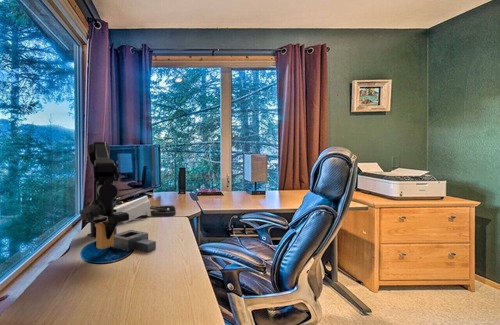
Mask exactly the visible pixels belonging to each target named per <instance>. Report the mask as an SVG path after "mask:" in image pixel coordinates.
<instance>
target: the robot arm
mask: <svg viewBox="0 0 500 325" xmlns="http://www.w3.org/2000/svg"><path fill="white" fill-rule="evenodd" d="M110 148H111V146H110V145H109V144H108V142H106V141H93V142H92V143H91V144H88V145H87V148H86V157H88V161H89V162H90V164H91V165H92V182H93V183H92V184H93V185H92V187H93V188H92V189H93V190H92V196H93V197H92V200H91V202H90V203H89V205H88V206H86V207H84V208H83V209H81V210H80V211H79V214H80V217H81V219H82V221H87V223H88V224H90V233H87V236H90V237H94V238H96V227H95V224H96V223H100V222H102V223H103V224H104V225H105V228H106V237H107V239H110V237H111V235H112V233H113V231H114V229H115V227H117V226H118V224H119V223H122V222H123V221H127V220H129V214H128V213H126V212H117V213H114V212H116V209H114V208H115V204H114V202H117V198H116V197H117V195H118V188H117V186H116V185H114V182H118V181H119V179H120V173H119V168H118V166H117V164H115V161H114V160H113V159H111V158H110V155H111V150H110ZM104 221H105V222H104Z"/></svg>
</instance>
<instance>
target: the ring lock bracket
mask: <svg viewBox="0 0 500 325" xmlns="http://www.w3.org/2000/svg"><path fill="white" fill-rule="evenodd" d="M117 228H118V227H117V226H116V227H115V229H114V245H113V246H111V247H116V248H120V249H125V250H131V249H134V250H136V251H140V252H144V253H149V252H152V251H154V250H156V249H157V248H156V247H157V241H156V240H150V239H149V232H146V231H145V232H144V231H138V230H135V229H129V230H124V231H122V232H118V233H117V231H118V230H117ZM131 251H132V250H131Z"/></svg>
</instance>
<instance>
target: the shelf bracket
mask: <svg viewBox="0 0 500 325" xmlns="http://www.w3.org/2000/svg"><path fill="white" fill-rule="evenodd" d="M151 206H152V205H151V201H150V199H149V196H148V195H144V196H142V197H139V198H136V199H134V200H131V201H128V202H126V203H123V204H120V205H118V206H114V209H116V212H114V213H117V212H126V213H128V214H129V220H127V221H123V222H121V224H127V223H129V222H131V221H133V220H134V219H136V218H139V217H140V216H142V215H144V214H145V215H146V216H147V217H152V216H151V211H152V210H151V209H150V207H151Z"/></svg>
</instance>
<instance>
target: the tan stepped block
mask: <svg viewBox="0 0 500 325" xmlns="http://www.w3.org/2000/svg"><path fill="white" fill-rule="evenodd" d="M104 222H105V221H104ZM95 227H96V237H95V238H96V240H95V241H96V249H99V250H103V249H104V250H105V249H107V248H110V246H113V245H114V231H113V233H112V235H111V237H110V239H107V237H106V228H105V225H104V224H103V223H102V222H100V223H96V224H95Z"/></svg>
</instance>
